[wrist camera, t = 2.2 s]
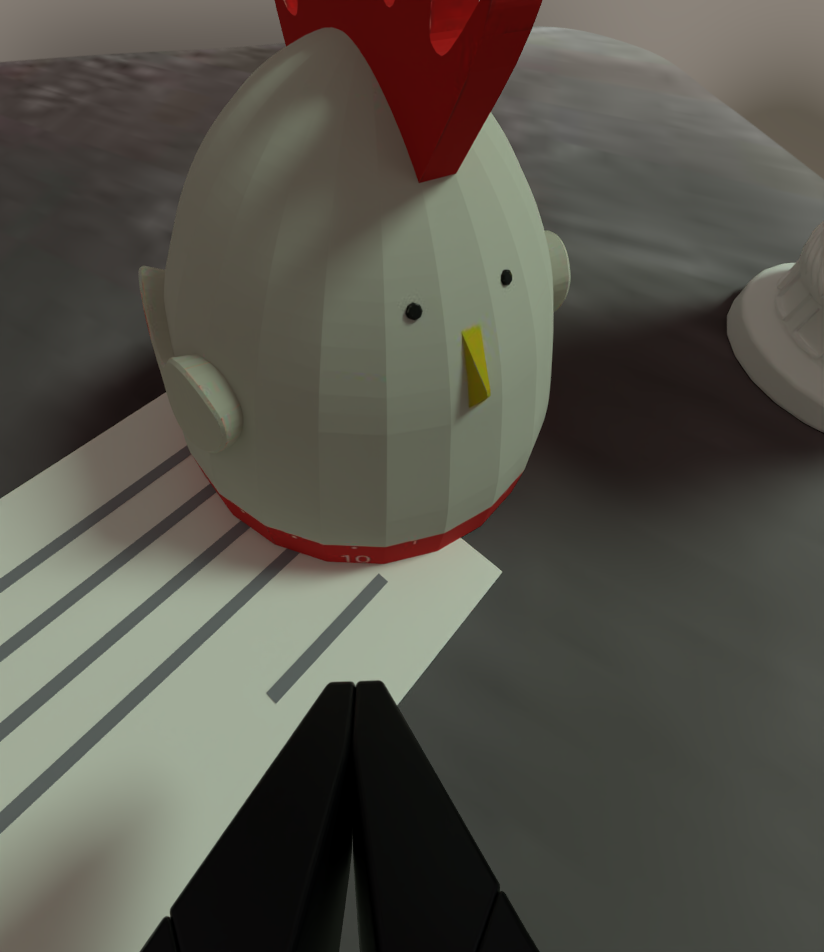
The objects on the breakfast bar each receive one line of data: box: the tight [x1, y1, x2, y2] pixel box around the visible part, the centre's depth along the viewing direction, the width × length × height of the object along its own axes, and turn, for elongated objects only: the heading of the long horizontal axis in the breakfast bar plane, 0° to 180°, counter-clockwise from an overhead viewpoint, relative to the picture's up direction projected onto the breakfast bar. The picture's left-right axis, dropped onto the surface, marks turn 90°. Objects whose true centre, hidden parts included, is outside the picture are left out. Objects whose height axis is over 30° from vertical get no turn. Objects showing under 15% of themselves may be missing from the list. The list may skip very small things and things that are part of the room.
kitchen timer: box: [139, 0, 570, 564], centre depth 13 cm, size 14×14×15 cm
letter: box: [0, 392, 502, 952], centre depth 14 cm, size 19×15×1 cm
